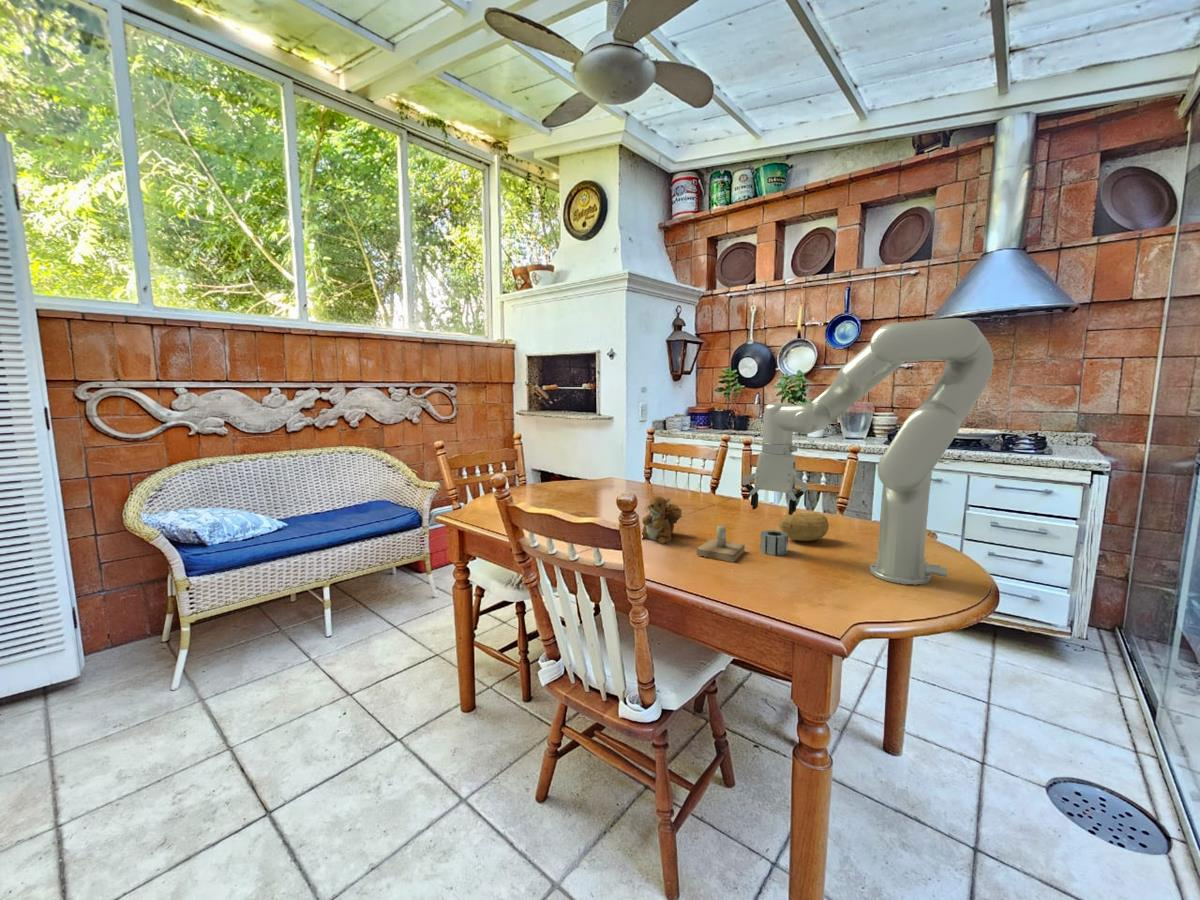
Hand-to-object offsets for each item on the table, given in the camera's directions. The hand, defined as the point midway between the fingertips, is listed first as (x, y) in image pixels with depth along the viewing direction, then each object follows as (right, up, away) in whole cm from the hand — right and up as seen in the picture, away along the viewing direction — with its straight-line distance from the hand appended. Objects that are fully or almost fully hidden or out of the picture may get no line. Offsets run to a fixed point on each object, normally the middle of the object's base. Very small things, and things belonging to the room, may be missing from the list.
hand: (772, 511), depth 140 cm
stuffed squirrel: (-29, -10, +15) cm, 34 cm away
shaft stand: (-14, -12, 0) cm, 18 cm away
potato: (+12, -10, +10) cm, 19 cm away
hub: (+1, -11, +1) cm, 11 cm away
